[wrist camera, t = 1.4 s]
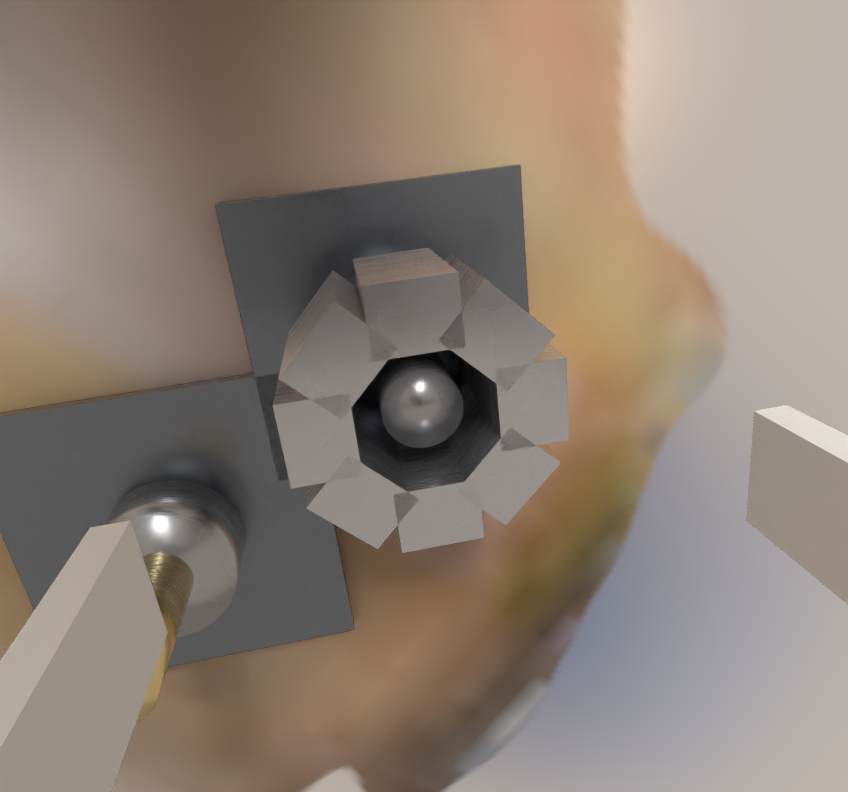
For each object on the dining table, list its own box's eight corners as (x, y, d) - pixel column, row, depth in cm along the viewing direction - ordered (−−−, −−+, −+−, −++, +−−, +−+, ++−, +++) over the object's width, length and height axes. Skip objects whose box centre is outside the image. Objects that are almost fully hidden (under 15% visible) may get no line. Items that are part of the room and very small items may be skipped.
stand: (217, 203, 24) (154, 226, 15) (516, 165, 25) (619, 164, 16) (279, 474, 28) (258, 615, 20) (531, 431, 30) (620, 545, 21)
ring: (267, 270, 20) (249, 302, 15) (509, 236, 21) (562, 256, 16) (312, 488, 23) (309, 570, 18) (523, 451, 24) (572, 520, 19)
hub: (-39, 418, 26) (-233, 554, 17) (302, 365, 27) (291, 464, 18) (71, 677, 31) (-33, 887, 22) (353, 621, 32) (364, 798, 23)
